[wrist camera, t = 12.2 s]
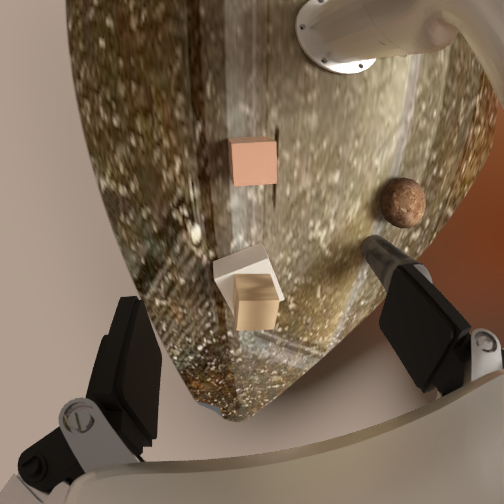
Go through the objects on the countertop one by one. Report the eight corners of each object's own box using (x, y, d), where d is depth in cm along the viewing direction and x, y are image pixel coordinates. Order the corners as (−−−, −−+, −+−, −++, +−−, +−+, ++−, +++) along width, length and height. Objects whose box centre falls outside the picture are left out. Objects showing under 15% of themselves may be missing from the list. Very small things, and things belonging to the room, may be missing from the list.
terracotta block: (266, 135, 36) (276, 141, 30) (266, 171, 38) (276, 183, 33) (227, 138, 35) (231, 143, 30) (230, 174, 38) (234, 186, 32)
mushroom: (429, 218, 42) (435, 221, 36) (388, 231, 46) (389, 236, 40) (414, 173, 42) (419, 170, 36) (373, 187, 45) (372, 186, 40)
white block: (261, 241, 43) (268, 258, 39) (277, 280, 47) (284, 299, 43) (212, 260, 44) (213, 279, 40) (232, 298, 48) (235, 317, 44)
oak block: (270, 273, 40) (279, 300, 35) (265, 301, 43) (273, 329, 38) (234, 273, 40) (239, 300, 34) (232, 302, 42) (236, 330, 37)
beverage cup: (349, 264, 48) (409, 346, 30) (360, 225, 44) (435, 300, 27) (382, 265, 49) (444, 338, 32) (394, 229, 46) (468, 296, 28)
